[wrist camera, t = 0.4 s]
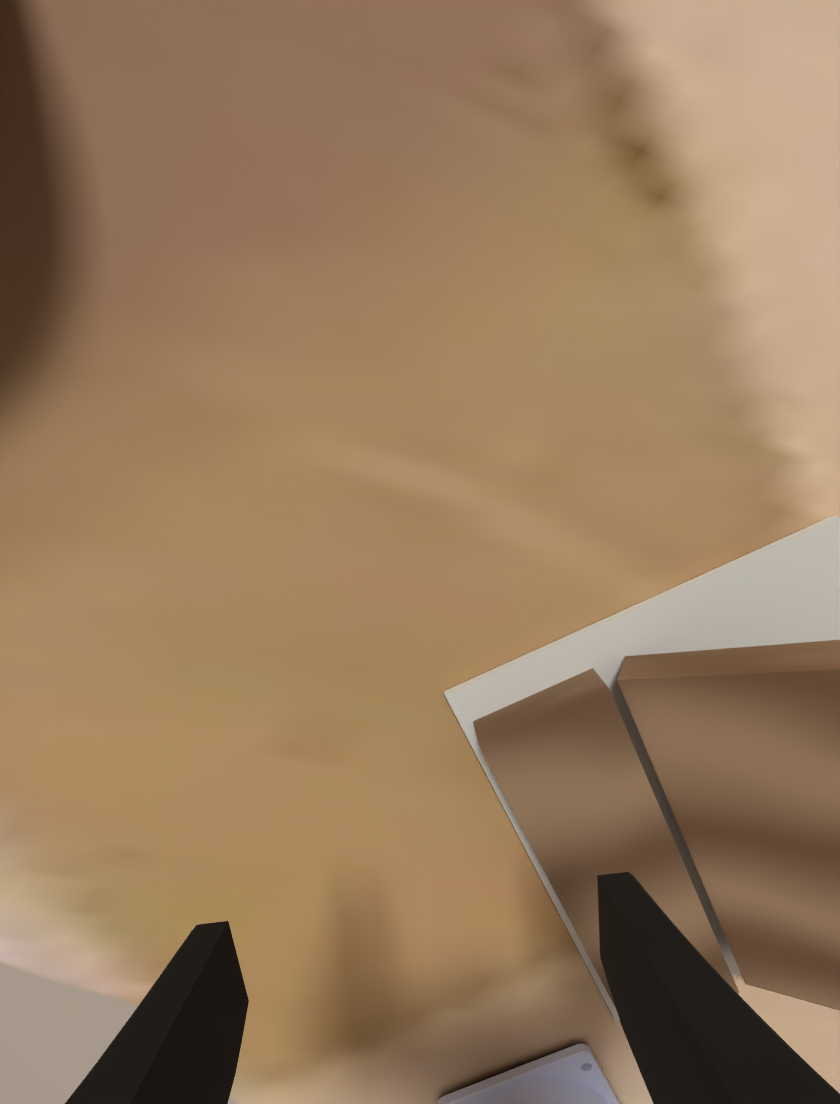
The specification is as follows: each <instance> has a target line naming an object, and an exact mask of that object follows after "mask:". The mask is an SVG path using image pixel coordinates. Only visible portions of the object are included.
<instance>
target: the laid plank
mask: <svg viewBox="0 0 840 1104" xmlns="http://www.w3.org/2000/svg"><path fill="white" fill-rule="evenodd" d="M473 724H474V728H475V732H476V736H477V740H478V744H479V747H480V748H481V750H482V752H483V754H484V756H485V758H486V760H487V762H488V764H489V766H490V768H491V770H492V772H493V773H494V775H495V777H496V779H497V781H498V783H499V785H500V787H501V789H502V791H503V793H504V795H505V797H506V798H507V800H508V802H509V804H510V806H511V808H512V810H513V812H514V814H515V816H516V818H517V820H518V822H519V823H520V825H521V827H522V829H523V831H524V833H525V835H526V837H527V839H528V841H529V843H530V845H531V847H532V848H533V850H534V852H535V854H536V856H537V858H538V860H539V862H540V864H541V866H542V868H543V870H544V872H545V873H546V875H547V877H548V879H549V881H550V883H551V885H552V887H553V889H554V891H555V893H556V895H557V897H558V898H559V900H560V902H561V904H562V906H563V908H564V910H565V912H566V914H567V916H568V918H569V920H570V922H571V923H572V925H573V927H574V929H575V931H576V933H577V935H578V937H579V939H580V941H581V943H582V945H583V947H584V948H585V950H586V952H587V954H588V956H589V958H590V960H591V962H592V964H593V966H594V968H595V970H596V972H597V974H598V975H599V977H600V979H601V981H602V983H603V985H604V987H605V989H606V991H607V993H608V995H609V997H610V999H611V1000H612V1002H613V1004H614V1006H615V1003H614V1000H613V997H612V994H611V991H610V988H609V984H608V981H607V978H606V975H605V972H604V968H603V965H602V962H601V959H600V942H599V912H598V883H597V875H605V874H613V873H621V872H629V873H631V874H632V875H633V876H634V877H635V878H636V879H637V880H638V882H639V883H640V884H641V885H642V887H643V888H644V889H645V890H646V891H647V893H648V894H649V895H650V896H651V897H652V899H653V900H654V901H655V902H656V903H657V905H658V906H659V907H660V908H661V909H662V911H663V912H664V913H665V914H666V915H667V916H668V918H669V919H670V920H671V921H672V922H673V923H674V925H675V926H676V927H677V928H678V929H679V930H680V931H681V933H682V934H683V935H684V936H685V937H686V938H687V939H688V941H689V942H690V943H691V944H692V945H693V946H694V947H695V948H696V949H697V951H698V952H699V953H700V954H701V955H702V956H703V957H704V958H705V959H706V960H707V962H708V963H709V964H710V965H711V966H712V967H713V968H714V969H715V970H716V971H717V972H718V973H719V974H720V975H721V977H722V978H723V979H724V980H725V981H726V982H727V983H728V984H729V985H730V986H731V987H732V988H733V989H734V990H735V992H736V993H739V991H738V989H737V986H736V984H735V982H734V979H733V977H732V975H731V972H730V970H729V968H728V965H727V963H726V961H725V958H724V956H723V954H722V951H721V949H720V947H719V944H718V942H717V940H716V937H715V935H714V933H713V930H712V928H711V926H710V923H709V921H708V919H707V916H706V914H705V912H704V909H703V907H702V905H701V902H700V900H699V898H698V895H697V893H696V891H695V888H694V886H693V884H692V881H691V879H690V877H689V874H688V872H687V870H686V867H685V865H684V863H683V860H682V858H681V856H680V853H679V851H678V849H677V846H676V844H675V842H674V839H673V837H672V835H671V832H670V830H669V828H668V825H667V823H666V821H665V818H664V816H663V814H662V811H661V809H660V807H659V804H658V802H657V800H656V797H655V795H654V793H653V790H652V788H651V786H650V783H649V781H648V779H647V776H646V774H645V772H644V769H643V767H642V765H641V762H640V760H639V758H638V755H637V753H636V751H635V748H634V746H633V744H632V741H631V739H630V737H629V734H628V732H627V730H626V727H625V725H624V723H623V720H622V718H621V716H620V713H619V711H618V709H617V706H616V704H615V702H614V699H613V697H612V695H611V692H610V690H609V688H608V686H607V685H606V684H605V683H604V681H603V680H602V679H601V678H600V676H599V675H598V674H597V673H596V671H595V670H594V669H593V668H591V669H589V670H587V671H585V672H583V673H580V674H578V675H576V676H574V677H571V678H569V679H567V680H565V681H562V682H560V683H558V684H556V685H553V686H551V687H549V688H547V689H544V690H542V691H540V692H538V693H535V694H533V695H531V696H529V697H526V698H524V699H522V700H520V701H517V702H515V703H513V704H511V705H508V706H506V707H504V708H502V709H499V710H497V711H495V712H493V713H490V714H488V715H486V716H484V717H481V718H479V719H477V720H475V721H473ZM615 1008H616V1006H615Z"/></svg>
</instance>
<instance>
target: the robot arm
mask: <svg viewBox="0 0 840 1104" xmlns="http://www.w3.org/2000/svg"><path fill="white" fill-rule="evenodd" d="M597 883H598V912H599V942H600V959H601V962H602V965H603V968H604V972H605V975H606V978H607V981H608V984H609V988H610V991H611V994H612V997H613V1000H614V1003H615V1006H616V1010H617V1013H618V1016H619V1019H620V1022H621V1025H622V1027H623V1030H624V1032H625V1035H626V1037H627V1040H628V1042H629V1045H630V1047H631V1050H632V1052H633V1055H634V1057H635V1059H636V1062H637V1064H638V1067H639V1069H640V1072H641V1074H642V1077H643V1079H644V1081H645V1084H646V1086H647V1089H648V1091H649V1094H650V1096H651V1098H652V1101H653V1103H654V1104H840V1094H839V1093H838V1092H837V1091H836V1090H835V1089H834V1088H833V1087H832V1086H831V1085H830V1084H828V1083H827V1082H826V1081H825V1080H824V1079H823V1078H822V1077H821V1076H820V1075H819V1074H818V1073H817V1072H816V1071H815V1070H814V1069H813V1068H811V1067H810V1066H809V1065H808V1064H807V1063H806V1062H805V1061H804V1060H803V1059H802V1058H801V1057H800V1056H799V1055H798V1054H797V1053H796V1052H795V1051H794V1050H793V1049H792V1048H791V1047H790V1046H789V1045H788V1044H787V1043H786V1042H785V1041H784V1040H783V1039H782V1038H781V1037H780V1036H779V1035H778V1034H777V1033H776V1032H775V1031H774V1030H773V1029H772V1028H771V1027H770V1026H769V1025H768V1024H767V1023H766V1022H765V1021H764V1020H763V1019H762V1018H761V1017H760V1016H759V1015H758V1014H757V1013H756V1012H755V1011H754V1010H753V1009H752V1008H751V1007H750V1006H749V1005H748V1004H747V1003H746V1002H745V1001H744V1000H743V999H742V998H741V997H740V996H739V995H738V994H737V993H736V992H735V990H734V989H733V988H732V987H731V986H730V985H729V984H728V983H727V982H726V981H725V980H724V979H723V978H722V977H721V975H720V974H719V973H718V972H717V971H716V970H715V969H714V968H713V967H712V966H711V965H710V964H709V963H708V962H707V960H706V959H705V958H704V957H703V956H702V955H701V954H700V953H699V952H698V951H697V949H696V948H695V947H694V946H693V945H692V944H691V943H690V942H689V941H688V939H687V938H686V937H685V936H684V935H683V934H682V933H681V931H680V930H679V929H678V928H677V927H676V926H675V925H674V923H673V922H672V921H671V920H670V919H669V918H668V916H667V915H666V914H665V913H664V912H663V911H662V909H661V908H660V907H659V906H658V905H657V903H656V902H655V901H654V900H653V899H652V897H651V896H650V895H649V894H648V893H647V891H646V890H645V889H644V888H643V887H642V885H641V884H640V883H639V882H638V880H637V879H636V878H635V877H634V876H633V875H632V874H631V873H629V872H621V873H613V874H605V875H597ZM248 1002H249V1000H248V996H247V993H246V989H245V985H244V981H243V977H242V973H241V969H240V965H239V961H238V958H237V954H236V950H235V946H234V942H233V938H232V934H231V930H230V926H229V923H228V921H225V922H216V923H208V924H200V925H196V927H195V928H194V929H193V930H192V931H191V933H190V934H189V936H188V937H187V938H186V940H185V941H184V943H183V944H182V945H181V947H180V948H179V950H178V951H177V953H176V954H175V955H174V957H173V958H172V960H171V961H170V962H169V964H168V965H167V967H166V968H165V970H164V971H163V972H162V974H161V975H160V977H159V978H158V979H157V981H156V982H155V984H154V985H153V986H152V988H151V989H150V991H149V992H148V993H147V995H146V996H145V998H144V999H143V1000H142V1002H141V1003H140V1005H139V1006H138V1007H137V1009H136V1010H135V1012H134V1013H133V1014H132V1016H131V1017H130V1019H129V1020H128V1021H127V1022H126V1024H125V1025H124V1027H123V1028H122V1029H121V1031H120V1032H119V1033H118V1035H117V1036H116V1037H115V1039H114V1040H113V1041H112V1043H111V1044H110V1045H109V1047H108V1048H107V1049H106V1051H105V1052H104V1054H103V1055H102V1056H101V1058H100V1059H99V1060H98V1062H97V1063H96V1064H95V1066H94V1067H93V1068H92V1070H91V1071H90V1072H89V1074H88V1075H87V1076H86V1078H85V1079H84V1080H83V1081H82V1083H81V1084H80V1085H79V1086H78V1088H77V1089H76V1090H75V1091H74V1093H73V1094H72V1095H71V1097H70V1098H69V1099H68V1100H67V1102H66V1103H65V1104H227V1103H228V1099H229V1096H230V1092H231V1088H232V1084H233V1081H234V1077H235V1073H236V1068H237V1063H238V1057H239V1052H240V1047H241V1042H242V1036H243V1031H244V1025H245V1019H246V1013H247V1008H248ZM437 1104H621V1103H620V1101H619V1100H618V1098H617V1096H616V1094H615V1092H614V1091H613V1089H612V1087H611V1085H610V1083H609V1081H608V1080H607V1078H606V1076H605V1074H604V1072H603V1071H602V1069H601V1067H600V1065H599V1063H598V1062H597V1060H596V1058H595V1056H594V1054H593V1053H592V1051H591V1049H590V1047H589V1046H588V1045H586V1044H582V1043H580V1044H576V1045H573V1046H571V1047H568V1048H565V1049H563V1050H560V1051H558V1052H555V1053H553V1054H550V1055H547V1056H545V1057H542V1058H540V1059H537V1060H535V1061H532V1062H529V1063H527V1064H524V1065H522V1066H519V1067H516V1068H514V1069H511V1070H509V1071H506V1072H504V1073H501V1074H498V1075H496V1076H493V1077H491V1078H488V1079H486V1080H483V1081H480V1082H478V1083H475V1084H473V1085H470V1086H468V1087H465V1088H462V1089H460V1090H457V1091H455V1092H452V1093H450V1094H447V1095H444V1096H442V1097H441V1098H440V1099H439V1100H438V1101H437Z"/></svg>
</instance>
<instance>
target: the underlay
mask: <svg viewBox="0 0 840 1104" xmlns="http://www.w3.org/2000/svg"><path fill="white" fill-rule="evenodd" d="M829 640H840V517H836V516H831V517H829V518H826V519H824V520H822V521H820V522H818V523H815V524H813V525H811V526H809V527H806V528H804V529H802V530H800V531H798V532H795V533H793V534H791V535H789V536H787V537H784V538H782V539H780V540H778V541H776V542H773V543H771V544H769V545H767V546H764V547H762V548H760V549H758V550H756V551H753V552H751V553H749V554H747V555H745V556H742V557H740V558H738V559H736V560H733V561H731V562H729V563H727V564H725V565H722V566H720V567H718V568H716V569H714V570H711V571H709V572H707V573H705V574H703V575H700V576H698V577H696V578H694V579H691V580H689V581H687V582H685V583H683V584H680V585H678V586H676V587H674V588H672V589H669V590H667V591H665V592H663V593H661V594H658V595H656V596H654V597H652V598H649V599H647V600H645V601H643V602H641V603H638V604H636V605H634V606H632V607H630V608H627V609H625V610H623V611H621V612H618V613H616V614H614V615H612V616H610V617H607V618H605V619H603V620H601V621H599V622H596V623H594V624H592V625H590V626H588V627H585V628H583V629H581V630H579V631H576V632H574V633H572V634H570V635H568V636H565V637H563V638H561V639H559V640H557V641H554V642H552V643H550V644H548V645H546V646H543V647H541V648H539V649H537V650H534V651H532V652H530V653H528V654H526V655H523V656H521V657H519V658H517V659H515V660H512V661H510V662H508V663H506V664H503V665H501V666H499V667H497V668H495V669H492V670H490V671H488V672H486V673H484V674H481V675H479V676H477V677H475V678H473V679H470V680H468V681H466V682H464V683H461V684H459V685H457V686H455V687H453V688H450V689H448V690H446V691H444V693H445V697H446V699H447V700H448V702H449V704H450V706H451V708H452V710H453V712H454V714H455V716H456V718H457V720H458V721H459V723H460V725H461V727H462V729H463V731H464V733H465V735H466V737H467V739H468V740H469V742H470V744H471V746H472V748H473V750H474V752H475V754H476V756H477V758H478V760H479V761H480V763H481V765H482V767H483V769H484V771H485V773H486V775H487V777H488V779H489V781H490V782H491V784H492V786H493V788H494V790H495V792H496V794H497V796H498V798H499V800H500V801H501V803H502V805H503V807H504V809H505V811H506V813H507V815H508V817H509V819H510V821H511V822H512V824H513V826H514V828H515V830H516V832H517V834H518V836H519V838H520V840H521V842H522V843H523V845H524V847H525V849H526V851H527V853H528V855H529V857H530V859H531V861H532V863H533V864H534V866H535V868H536V870H537V872H538V874H539V876H540V878H541V880H542V882H543V883H544V885H545V887H546V889H547V891H548V893H549V895H550V897H551V899H552V901H553V903H554V904H555V906H556V908H557V910H558V912H559V914H560V916H561V918H562V920H563V922H564V924H565V925H566V927H567V929H568V931H569V933H570V935H571V937H572V939H573V941H574V943H575V944H576V946H577V948H578V950H579V952H580V954H581V956H582V958H583V960H584V962H585V964H586V965H587V967H588V969H589V971H590V973H591V975H592V977H593V979H594V981H595V983H596V985H597V986H598V988H599V990H600V992H601V994H602V996H603V998H604V1000H605V1002H606V1004H607V1006H608V1007H609V1009H610V1011H611V1013H612V1015H613V1017H614V1019H615V1021H616V1022H618V1021H620V1019H619V1016H618V1013H617V1010H616V1008H615V1006H614V1004H613V1002H612V1000H611V999H610V997H609V995H608V993H607V991H606V989H605V987H604V985H603V983H602V981H601V979H600V977H599V975H598V974H597V972H596V970H595V968H594V966H593V964H592V962H591V960H590V958H589V956H588V954H587V952H586V950H585V948H584V947H583V945H582V943H581V941H580V939H579V937H578V935H577V933H576V931H575V929H574V927H573V925H572V923H571V922H570V920H569V918H568V916H567V914H566V912H565V910H564V908H563V906H562V904H561V902H560V900H559V898H558V897H557V895H556V893H555V891H554V889H553V887H552V885H551V883H550V881H549V879H548V877H547V875H546V873H545V872H544V870H543V868H542V866H541V864H540V862H539V860H538V858H537V856H536V854H535V852H534V850H533V848H532V847H531V845H530V843H529V841H528V839H527V837H526V835H525V833H524V831H523V829H522V827H521V825H520V823H519V822H518V820H517V818H516V816H515V814H514V812H513V810H512V808H511V806H510V804H509V802H508V800H507V798H506V797H505V795H504V793H503V791H502V789H501V787H500V785H499V783H498V781H497V779H496V777H495V775H494V773H493V772H492V770H491V768H490V766H489V764H488V762H487V760H486V758H485V756H484V754H483V752H482V750H481V748H480V747H479V744H478V740H477V736H476V732H475V728H474V724H473V721H475V720H477V719H479V718H481V717H484V716H486V715H488V714H490V713H493V712H495V711H497V710H499V709H502V708H504V707H506V706H508V705H511V704H513V703H515V702H517V701H520V700H522V699H524V698H526V697H529V696H531V695H533V694H535V693H538V692H540V691H542V690H544V689H547V688H549V687H551V686H553V685H556V684H558V683H560V682H562V681H565V680H567V679H569V678H571V677H574V676H576V675H578V674H580V673H583V672H585V671H587V670H589V669H591V668H593V669H594V670H595V671H596V673H597V674H598V675H599V676H600V678H601V679H602V680H603V681H604V683H605V684H606V685H607V686H608V688H609V690H610V692H611V695H612V697H613V699H614V702H615V704H616V706H617V709H618V711H619V713H620V716H621V718H622V720H623V723H624V725H625V727H626V730H627V732H628V734H629V737H630V739H631V741H632V744H633V746H634V748H635V751H636V753H637V755H638V758H639V760H640V762H641V765H642V767H643V769H644V772H645V774H646V776H647V779H648V781H649V783H650V786H651V788H652V790H653V793H654V795H655V797H656V800H657V802H658V804H659V807H660V809H661V811H662V814H663V816H664V818H665V821H666V823H667V825H668V828H669V830H670V832H671V835H672V837H673V839H674V842H675V844H676V846H677V849H678V851H679V853H680V856H681V858H682V860H683V863H684V865H685V867H686V870H687V872H688V874H689V877H690V879H691V881H692V884H693V886H694V888H695V891H696V893H697V895H698V898H699V900H700V902H701V905H702V907H703V909H704V912H705V914H706V916H707V919H708V921H709V923H710V926H711V928H712V930H713V933H714V935H715V937H716V940H717V942H718V944H719V947H720V949H721V951H722V954H723V956H724V958H725V961H726V963H727V965H728V968H729V970H730V972H731V975H732V977H734V976H737V975H739V974H741V973H740V970H739V968H738V965H737V963H736V961H735V958H734V956H733V954H732V951H731V949H730V946H729V944H728V942H727V939H726V937H725V935H724V932H723V930H722V927H721V925H720V923H719V920H718V918H717V916H716V913H715V911H714V909H713V906H712V904H711V901H710V899H709V897H708V894H707V892H706V890H705V887H704V885H703V882H702V880H701V878H700V875H699V873H698V871H697V868H696V866H695V864H694V861H693V859H692V856H691V854H690V852H689V849H688V847H687V845H686V842H685V840H684V837H683V835H682V833H681V830H680V828H679V826H678V823H677V821H676V818H675V816H674V814H673V811H672V809H671V807H670V804H669V802H668V800H667V797H666V795H665V792H664V790H663V788H662V785H661V783H660V781H659V778H658V776H657V773H656V771H655V769H654V766H653V764H652V762H651V759H650V757H649V755H648V752H647V750H646V747H645V745H644V743H643V740H642V738H641V736H640V733H639V731H638V728H637V726H636V724H635V721H634V719H633V717H632V714H631V712H630V709H629V707H628V705H627V702H626V700H625V698H624V695H623V693H622V691H621V688H620V686H619V683H618V681H617V679H618V676H619V673H620V670H621V667H622V663H623V660H624V657H625V656H635V655H648V654H661V653H674V652H687V651H700V650H713V649H725V648H738V647H751V646H764V645H777V644H790V643H803V642H816V641H829Z"/></svg>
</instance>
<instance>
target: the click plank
mask: <svg viewBox="0 0 840 1104" xmlns="http://www.w3.org/2000/svg"><path fill="white" fill-rule="evenodd" d="M617 681H618V683H619V686H620V688H621V691H622V693H623V695H624V698H625V700H626V702H627V705H628V707H629V709H630V712H631V714H632V717H633V719H634V721H635V724H636V726H637V728H638V731H639V733H640V736H641V738H642V740H643V743H644V745H645V747H646V750H647V752H648V755H649V757H650V759H651V762H652V764H653V766H654V769H655V771H656V773H657V776H658V778H659V781H660V783H661V785H662V788H663V790H664V792H665V795H666V797H667V800H668V802H669V804H670V807H671V809H672V811H673V814H674V816H675V818H676V821H677V823H678V826H679V828H680V830H681V833H682V835H683V837H684V840H685V842H686V845H687V847H688V849H689V852H690V854H691V856H692V859H693V861H694V864H695V866H696V868H697V871H698V873H699V875H700V878H701V880H702V882H703V885H704V887H705V890H706V892H707V894H708V897H709V899H710V901H711V904H712V906H713V909H714V911H715V913H716V916H717V918H718V920H719V923H720V925H721V927H722V930H723V932H724V935H725V937H726V939H727V942H728V944H729V946H730V949H731V951H732V954H733V956H734V958H735V961H736V963H737V965H738V968H739V970H740V973H741V975H742V977H743V980H744V982H745V984H748V985H751V986H755V987H758V988H762V989H766V990H769V991H773V992H776V993H780V994H783V995H787V996H790V997H794V998H797V999H801V1000H805V1001H808V1002H812V1003H815V1004H819V1005H822V1006H826V1007H829V1008H833V1009H836V1010H840V640H829V641H816V642H803V643H790V644H777V645H764V646H751V647H738V648H725V649H713V650H700V651H687V652H674V653H661V654H648V655H635V656H625V657H624V660H623V663H622V667H621V670H620V673H619V676H618V679H617Z"/></svg>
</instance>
